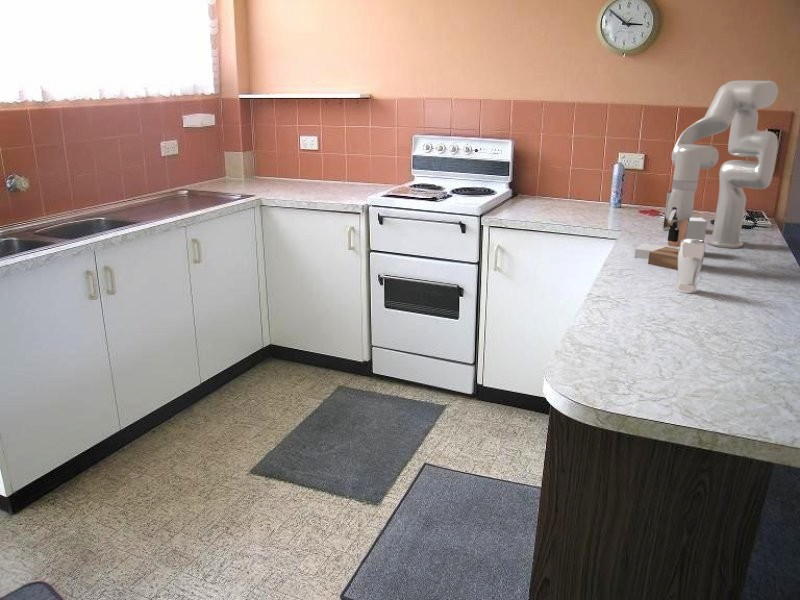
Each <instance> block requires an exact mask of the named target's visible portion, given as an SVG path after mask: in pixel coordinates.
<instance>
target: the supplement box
mask: <svg viewBox="0 0 800 600" xmlns="http://www.w3.org/2000/svg"><path fill="white" fill-rule="evenodd" d="M707 224H708V221H707V220H706V219H704V218H703V217H693V216H691V218H690V219H689V222H688V227H687V233H686V238H690V239H699V240H703V241H705V238H706V231H707ZM676 249H679V247H676Z"/></svg>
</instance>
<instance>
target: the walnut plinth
mask: <svg viewBox="0 0 800 600" xmlns="http://www.w3.org/2000/svg"><path fill="white" fill-rule="evenodd" d="M670 247H671V246H667V247H664V248H661V249H658V250H655V251H652V252H649V259H647V261H648V262H647V264H648V265H650V266H651V265H652V266H656V267H662V268H665V269H666V268H667V269H672V270H676V271H678V252H679V249H677V248H676V247H671V248H670Z"/></svg>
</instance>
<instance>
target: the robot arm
mask: <svg viewBox="0 0 800 600" xmlns="http://www.w3.org/2000/svg"><path fill="white" fill-rule="evenodd" d="M778 93H779V87H778V85H777V83H776V82H775V81H773V80H749V79H748V80H747V79H745V80H742V79H741V80H731V81H728V82H726V83H725V84H722V85H721V86H720V87H719V88H718V90H717V91H716V94H715V96H714V98H713V100H712V101H711V103H710V105H709V107H708V109H707V111H706V113H705V115H704V116H703V117H702V118H701V119H699V120H696V121H695V122H694V123H692V124H691V125H689V126H688V127H687V128H685V130H683V131H682V132H681V133H680V135H679V136H678V139H677V140H676V143H675V145H674V147H673V150H672V151H671V161H672V164H674V168H673V169H674V171H673V178H672V185H671V190H672V192H671V195H670V199H669V203H668V208H667V213H666V219H667V220H668V223H669V231H668V235H667V242H668V241H673V242H677V241H678V235H679V230H678V228H679V224H680V221H682V220H686V219H688V222H689V219H690V218H691V217H693V211H694V207H695V206H694V205H695V195H696V194H695V193H696V192H697V189H698V183H699V177H700V176H699V175H700V170H701V169H702V170H709V169H712V168H714V167H715V166H716V164H718V161H719V158H720V153H719V151H718V149H717V148H716V147H715V146H712V145H703V144H694V143H695V142H697V141H700V140H701V139H703V138H707V137H711V136H715V135H717V134H719V133H723V132H725V131H726V130H728V129H730V130H729V135H728V136H729V137H728V141H727V142H728V144H727V151H728V154H730V155H731V156H735V157H739V158H740V157H742V158H751V159H757V161H750V160H741V159H731V160H726V161H725V162H723V163H722V164H721V165H720V168H719V175H718V177H719V186H718V187H719V188H718V196H717V204H716V209H715V210H716V211H715V217H714V223H713V229H712V235H711V237H709V238H708V239H706V243H707V244H708V245H710V246H714V247H719V248H726V249H737V248H742V247H743V246H744V242H743V241H741V240H740V239H741V236H742V232H741V231H742V226H743V222H744V221H743V220H744V217H745V216H744V215H745V210H746V206H747V205H746V204H747V196H746V194H745V192H744V190H743V188H746V189H752V190H753V189H754V190H764V189H767V188H769V186H770V185H771V183H772V180H773V175H774V170H775V163H776V158H777V152H778V146H779V145H778V143H779V142H778V141H779V140H778V136H777V134H776V133H775V132H774V131H773V132H772V131H770V130H769V131H768V130H758V124H759V113H758V110H761V109H766V108H768V107H771V106H772V105H773V104H774V103H775V101H776V100H777V97H778ZM674 218H676V219H677V220H674ZM674 222H677V224H675V223H674ZM687 227H688V224H687ZM686 233H687V231H686ZM685 239H686V238H685Z"/></svg>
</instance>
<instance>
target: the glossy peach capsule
mask: <svg viewBox="0 0 800 600" xmlns="http://www.w3.org/2000/svg"><path fill="white" fill-rule="evenodd" d="M674 220H677V219H676V218H674ZM674 223H675V224H677V222H674ZM687 224H688V219H686V220H682V221H680V224H679V228H678V230H679V235H678V241H677V242H673V241H668V240H667V246H668V247H672V248H677V247H680V243H681V239H685V238H686V231H687Z"/></svg>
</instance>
